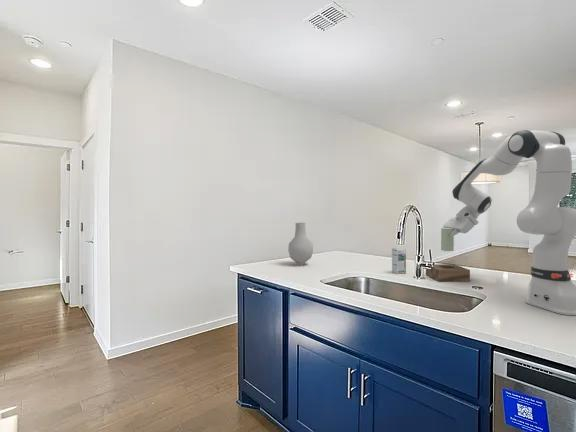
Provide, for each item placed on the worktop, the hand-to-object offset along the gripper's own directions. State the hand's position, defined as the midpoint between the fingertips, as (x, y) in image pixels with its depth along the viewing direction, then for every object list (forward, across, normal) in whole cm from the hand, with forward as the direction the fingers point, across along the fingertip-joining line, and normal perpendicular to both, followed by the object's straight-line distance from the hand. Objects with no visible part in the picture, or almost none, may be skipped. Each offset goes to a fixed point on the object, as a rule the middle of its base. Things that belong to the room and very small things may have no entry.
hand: (447, 236), depth 178 cm
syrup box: (+31, -15, +2) cm, 35 cm away
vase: (+71, -44, -38) cm, 92 cm away
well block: (+16, 0, +16) cm, 23 cm away
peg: (+6, 0, +6) cm, 8 cm away
